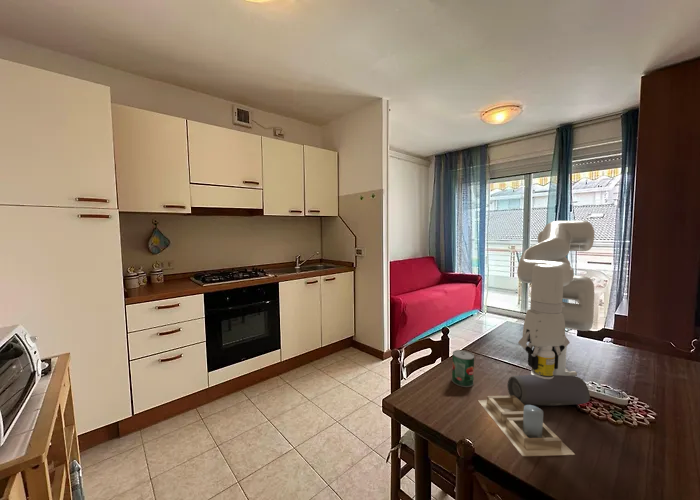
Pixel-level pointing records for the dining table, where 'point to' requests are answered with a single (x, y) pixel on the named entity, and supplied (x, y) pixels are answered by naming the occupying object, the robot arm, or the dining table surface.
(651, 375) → the dining table surface
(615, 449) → the dining table surface
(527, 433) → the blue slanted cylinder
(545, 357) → the supplement bottle
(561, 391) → the bluetooth speaker
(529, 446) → the cruet stand
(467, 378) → the canned tomato
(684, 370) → the dining table surface
